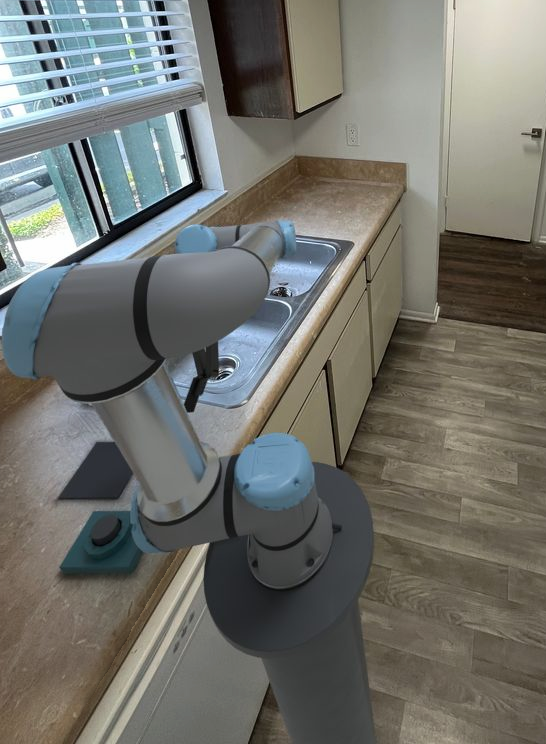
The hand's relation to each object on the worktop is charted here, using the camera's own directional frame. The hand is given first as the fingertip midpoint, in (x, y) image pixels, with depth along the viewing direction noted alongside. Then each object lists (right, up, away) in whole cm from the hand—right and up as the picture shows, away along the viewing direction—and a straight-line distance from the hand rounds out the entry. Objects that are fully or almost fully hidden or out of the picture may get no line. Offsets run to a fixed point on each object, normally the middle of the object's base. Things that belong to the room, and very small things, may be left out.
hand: (161, 402), depth 88 cm
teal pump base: (-4, -22, -9) cm, 24 cm away
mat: (-14, -16, +4) cm, 21 cm away
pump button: (-4, -18, -10) cm, 22 cm away
